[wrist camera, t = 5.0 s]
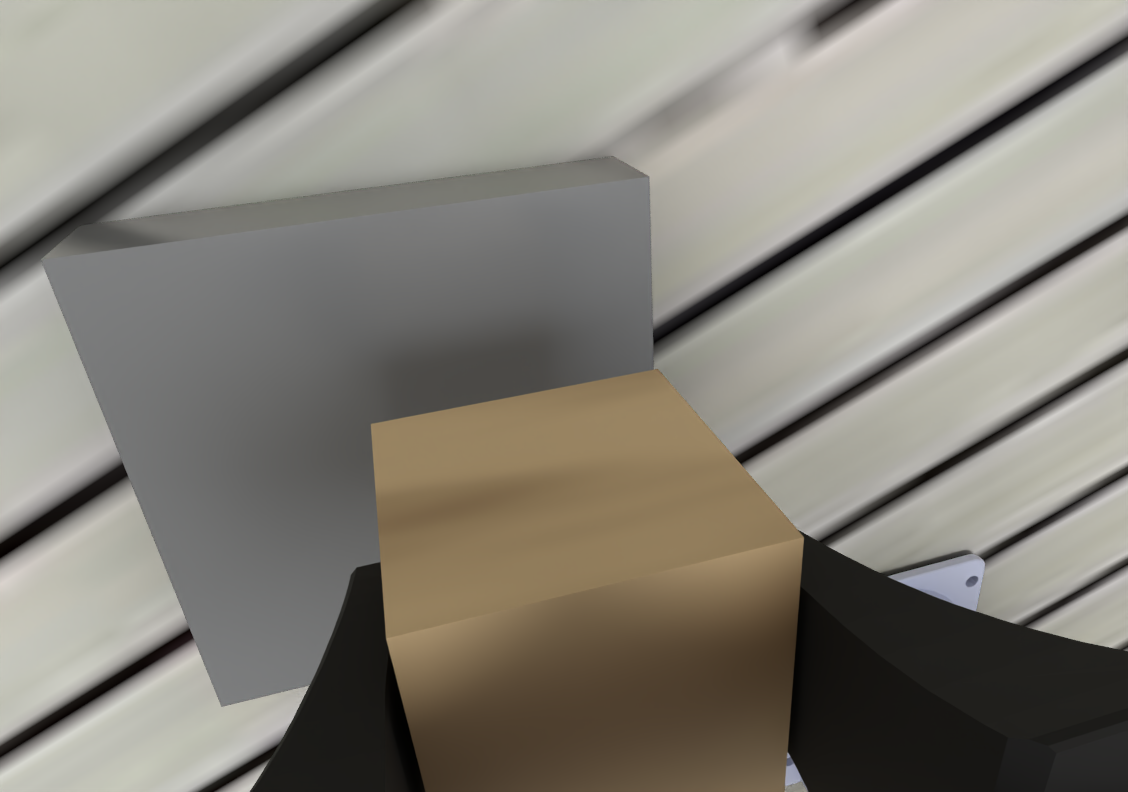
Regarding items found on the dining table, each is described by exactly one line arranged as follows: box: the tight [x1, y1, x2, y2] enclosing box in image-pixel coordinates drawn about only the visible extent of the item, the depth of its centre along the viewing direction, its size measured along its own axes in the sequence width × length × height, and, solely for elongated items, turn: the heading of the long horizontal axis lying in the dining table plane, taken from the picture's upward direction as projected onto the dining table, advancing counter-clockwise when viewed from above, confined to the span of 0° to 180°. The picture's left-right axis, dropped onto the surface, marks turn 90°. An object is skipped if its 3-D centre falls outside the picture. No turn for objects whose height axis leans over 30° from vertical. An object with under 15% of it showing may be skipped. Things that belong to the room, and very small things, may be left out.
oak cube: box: [371, 369, 804, 792], centre depth 12 cm, size 5×5×5 cm
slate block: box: [41, 157, 654, 707], centre depth 20 cm, size 12×12×3 cm
